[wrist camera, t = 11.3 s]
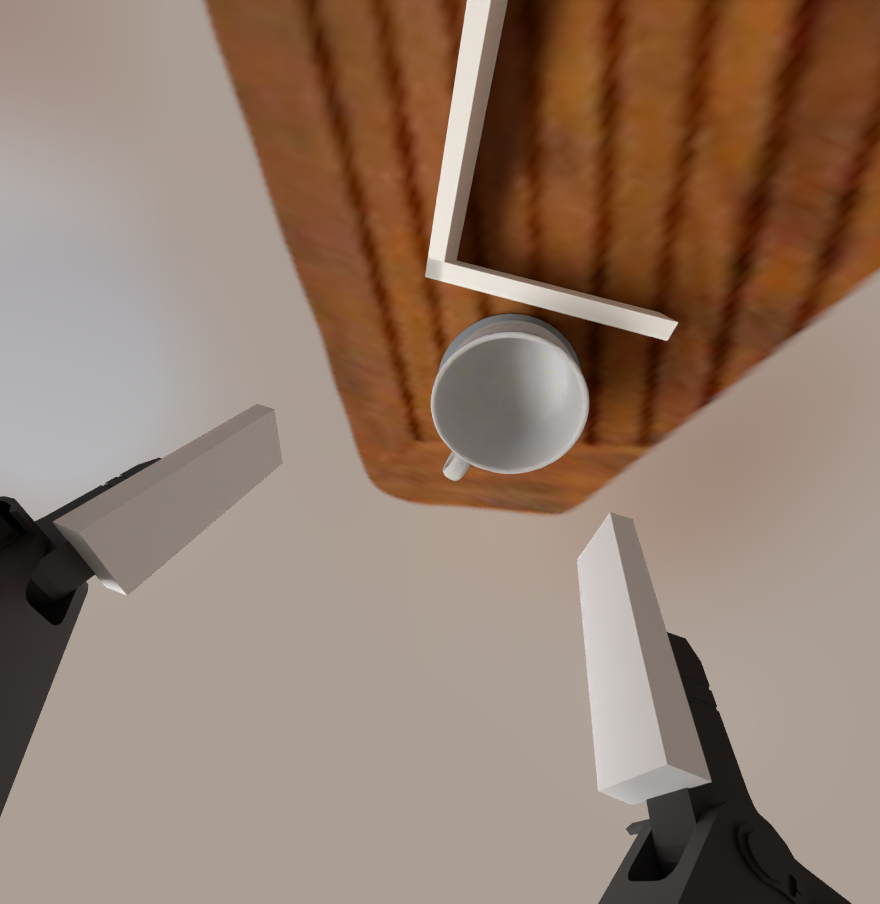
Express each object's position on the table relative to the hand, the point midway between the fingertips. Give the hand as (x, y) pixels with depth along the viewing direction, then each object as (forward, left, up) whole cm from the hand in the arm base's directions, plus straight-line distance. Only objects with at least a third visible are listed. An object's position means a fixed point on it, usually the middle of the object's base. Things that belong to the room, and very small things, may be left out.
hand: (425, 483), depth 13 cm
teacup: (+3, +2, -20) cm, 20 cm away
